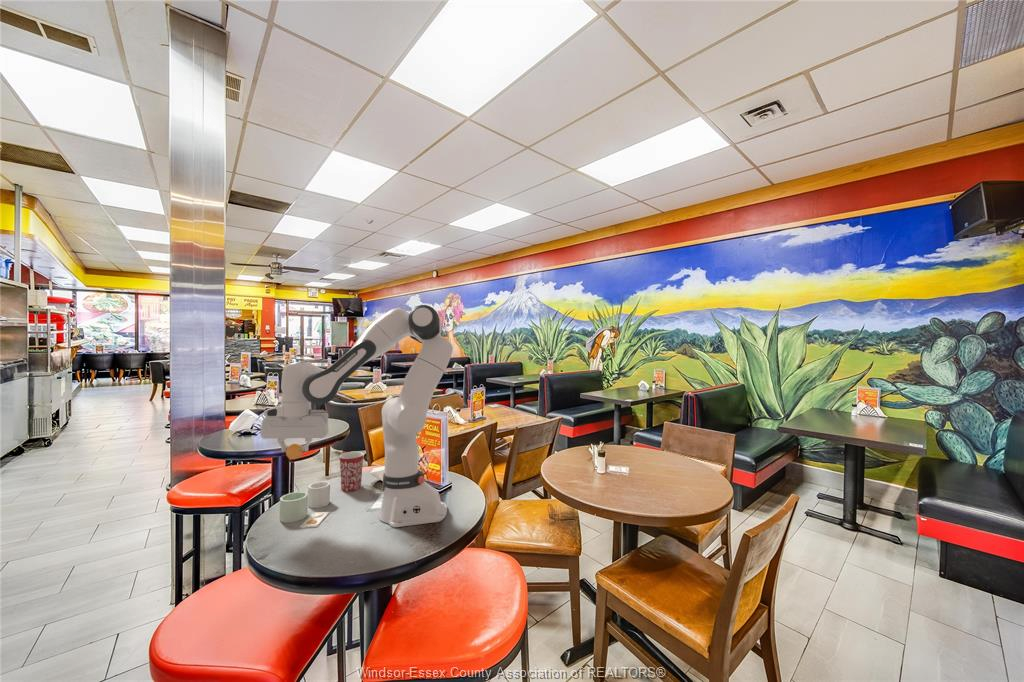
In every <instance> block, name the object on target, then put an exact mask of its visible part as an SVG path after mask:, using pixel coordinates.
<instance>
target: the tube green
mask: <svg viewBox="0 0 1024 682" xmlns="http://www.w3.org/2000/svg"><path fill="white" fill-rule="evenodd" d="M308 508H309V507H308V492H306V491H294V492H289V493H287V494H283V495H282V496H281V497H280V498H279V522H281V523H288V524H289V523H294V522H299V521H301V520H303V519H305V518H306V517H307V516H308Z"/></svg>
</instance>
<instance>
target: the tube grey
mask: <svg viewBox="0 0 1024 682" xmlns="http://www.w3.org/2000/svg"><path fill="white" fill-rule="evenodd" d="M307 494H308V508H311V509H319V508H324V507H326V506H328V505H329V504H330V502H331V501H330V500H331V483H330V481H317V482H313V483H310V484H309V485H308V487H307Z"/></svg>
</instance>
